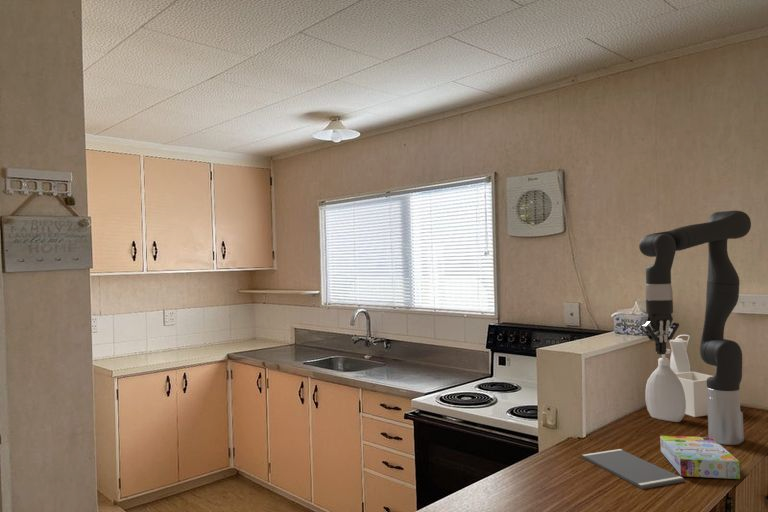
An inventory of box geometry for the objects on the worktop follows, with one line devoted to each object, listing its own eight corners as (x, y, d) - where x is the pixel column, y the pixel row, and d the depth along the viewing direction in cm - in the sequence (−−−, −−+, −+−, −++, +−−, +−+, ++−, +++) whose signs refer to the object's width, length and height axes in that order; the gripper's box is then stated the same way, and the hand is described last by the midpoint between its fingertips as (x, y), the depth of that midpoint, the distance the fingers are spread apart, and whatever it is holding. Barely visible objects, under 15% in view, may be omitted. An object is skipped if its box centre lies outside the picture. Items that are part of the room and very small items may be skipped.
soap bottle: (692, 422, 207) (689, 348, 208) (682, 426, 202) (679, 351, 202) (652, 414, 219) (650, 344, 219) (642, 418, 214) (639, 346, 214)
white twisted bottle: (687, 400, 237) (685, 333, 237) (695, 405, 229) (693, 336, 229) (668, 400, 238) (665, 333, 238) (675, 405, 230) (673, 336, 230)
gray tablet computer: (619, 451, 179) (619, 448, 179) (684, 481, 155) (684, 478, 155) (581, 457, 175) (581, 454, 175) (642, 489, 151) (642, 485, 151)
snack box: (680, 478, 157) (741, 480, 154) (679, 458, 157) (739, 459, 154) (660, 452, 178) (713, 453, 175) (659, 434, 178) (712, 435, 175)
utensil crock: (694, 406, 228) (693, 371, 228) (724, 415, 214) (723, 378, 215) (665, 410, 224) (664, 374, 224) (694, 419, 210) (693, 381, 211)
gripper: (667, 296, 182) (669, 350, 182) (632, 298, 178) (634, 354, 178) (685, 297, 174) (687, 354, 174) (650, 300, 171) (652, 357, 171)
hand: (661, 354), depth 176 cm, fingers closed
